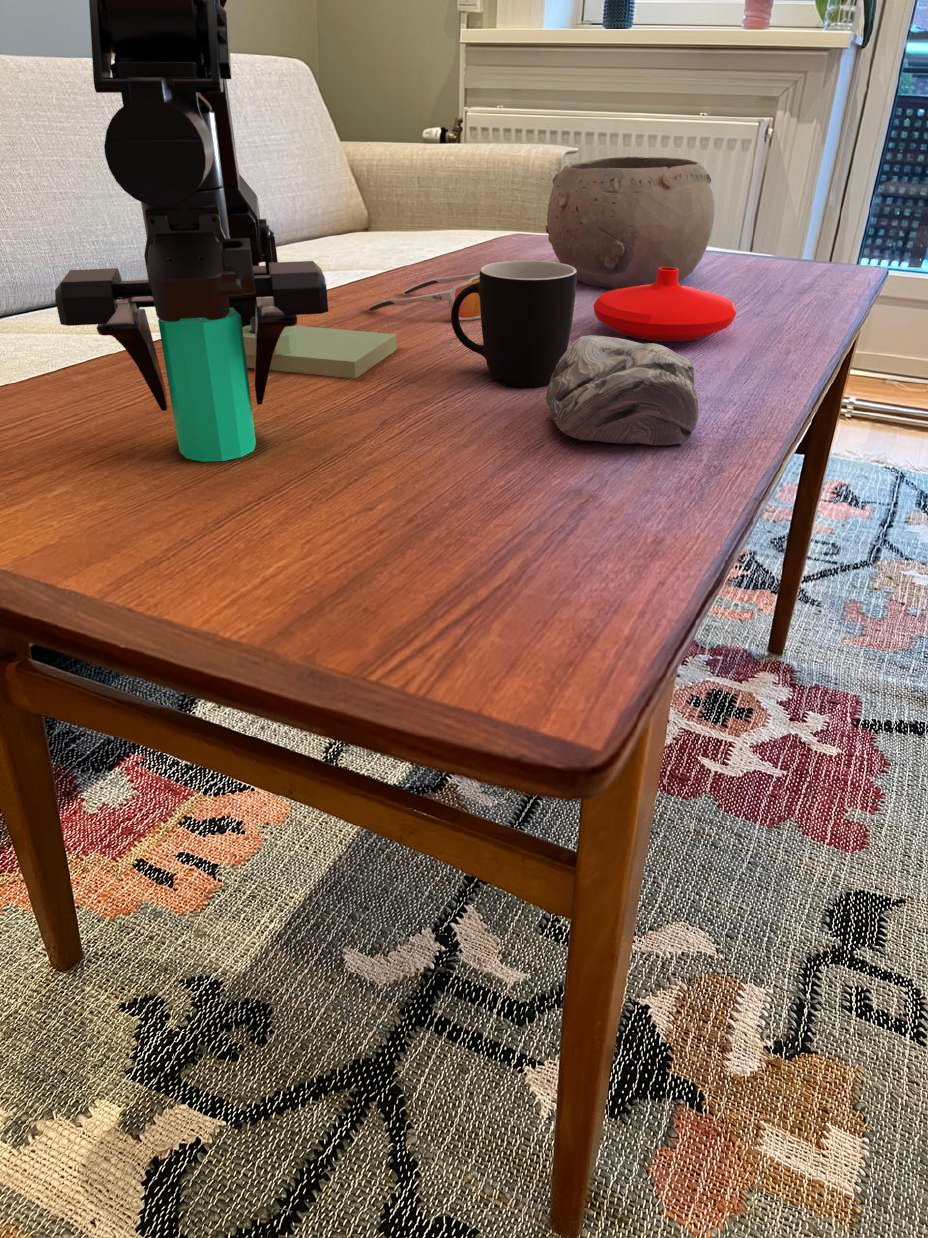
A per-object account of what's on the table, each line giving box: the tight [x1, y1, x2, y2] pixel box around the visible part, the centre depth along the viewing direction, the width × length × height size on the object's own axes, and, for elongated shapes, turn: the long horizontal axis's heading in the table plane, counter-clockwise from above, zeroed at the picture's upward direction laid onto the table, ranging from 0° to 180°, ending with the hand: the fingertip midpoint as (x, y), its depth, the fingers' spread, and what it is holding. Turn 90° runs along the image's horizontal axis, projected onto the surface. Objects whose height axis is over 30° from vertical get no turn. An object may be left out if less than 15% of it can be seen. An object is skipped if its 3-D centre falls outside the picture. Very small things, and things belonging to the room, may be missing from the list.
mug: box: [450, 259, 578, 388], centre depth 88 cm, size 12×9×10 cm
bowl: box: [544, 156, 716, 289], centre depth 128 cm, size 23×23×15 cm
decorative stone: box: [545, 334, 700, 446], centre depth 76 cm, size 15×14×10 cm
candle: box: [157, 308, 257, 463], centre depth 71 cm, size 6×6×12 cm
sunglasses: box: [367, 271, 481, 321], centre depth 115 cm, size 14×15×5 cm
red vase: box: [592, 267, 737, 342], centre depth 103 cm, size 16×16×7 cm
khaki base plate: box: [242, 325, 398, 379], centre depth 95 cm, size 13×12×4 cm
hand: (212, 406), depth 73 cm, fingers open, 7 cm apart
